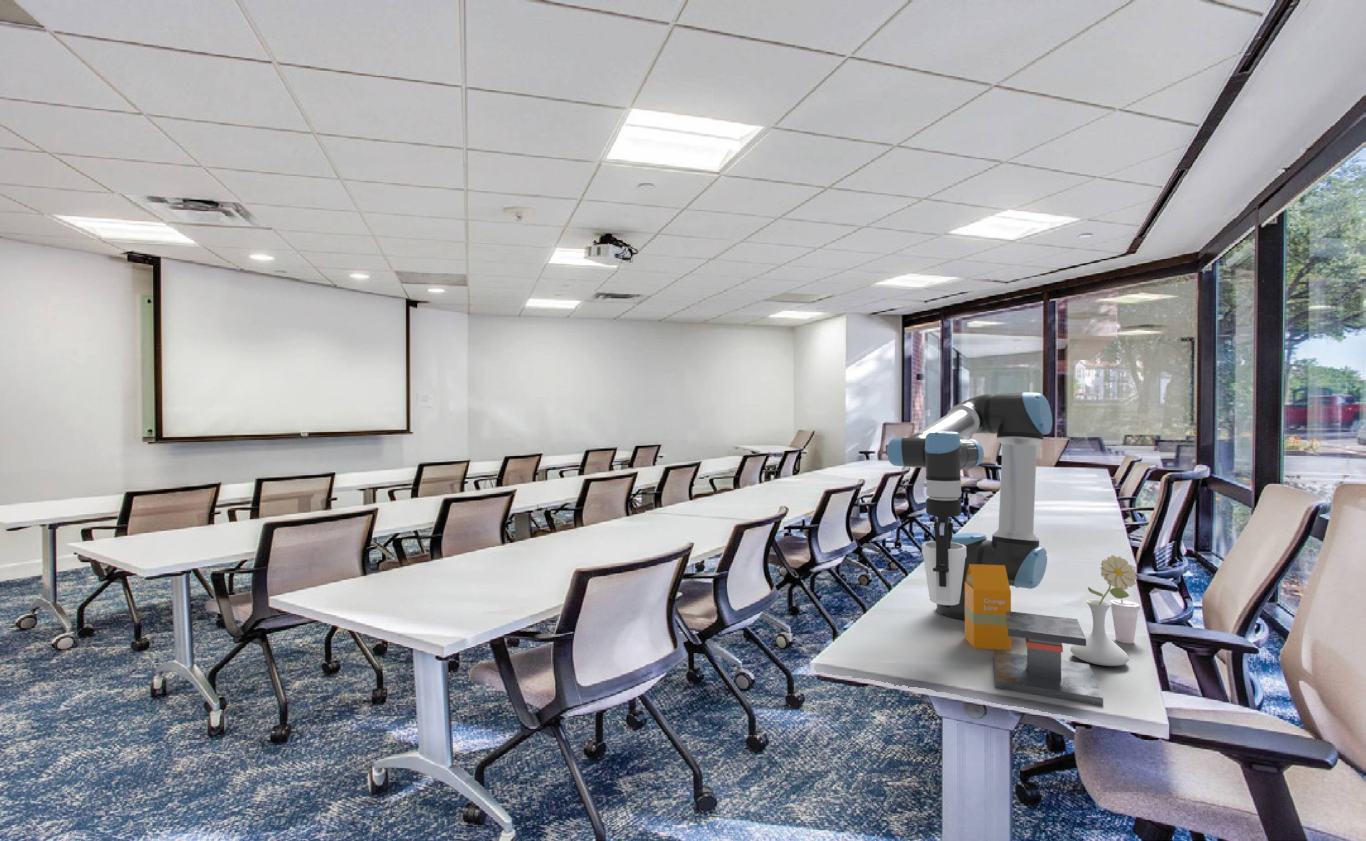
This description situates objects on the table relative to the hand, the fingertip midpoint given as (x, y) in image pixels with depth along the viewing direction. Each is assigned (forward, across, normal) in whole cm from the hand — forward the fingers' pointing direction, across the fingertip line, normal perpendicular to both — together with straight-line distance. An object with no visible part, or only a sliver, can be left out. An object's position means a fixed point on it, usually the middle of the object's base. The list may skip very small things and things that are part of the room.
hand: (944, 594), depth 144 cm
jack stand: (+16, 0, +20) cm, 26 cm away
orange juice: (+17, -18, +9) cm, 26 cm away
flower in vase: (+17, -17, +33) cm, 41 cm away
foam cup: (+2, 0, 0) cm, 2 cm away
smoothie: (+17, -36, +40) cm, 56 cm away
